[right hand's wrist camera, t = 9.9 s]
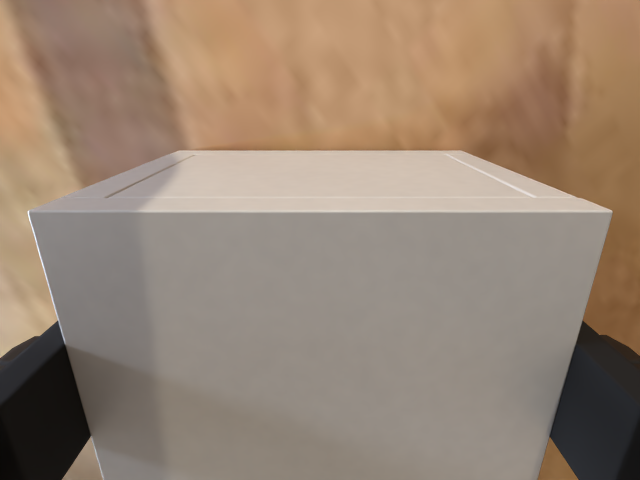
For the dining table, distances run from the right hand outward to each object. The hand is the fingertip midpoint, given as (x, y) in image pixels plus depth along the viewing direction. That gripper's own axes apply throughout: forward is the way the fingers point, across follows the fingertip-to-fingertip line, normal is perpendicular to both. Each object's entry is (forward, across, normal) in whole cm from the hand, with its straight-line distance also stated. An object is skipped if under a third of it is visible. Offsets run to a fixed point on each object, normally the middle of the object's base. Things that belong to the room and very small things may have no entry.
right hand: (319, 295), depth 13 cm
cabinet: (+4, 0, -4) cm, 5 cm away
